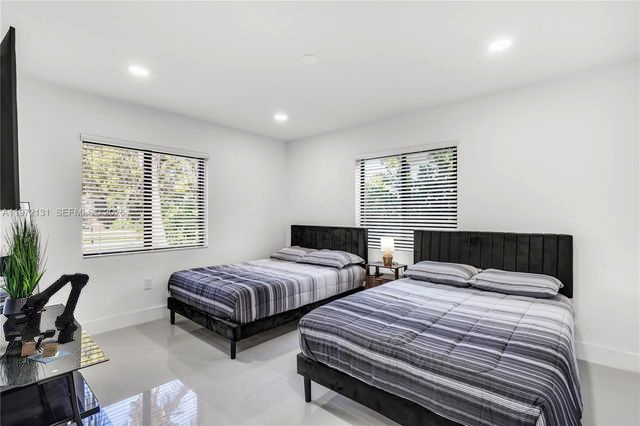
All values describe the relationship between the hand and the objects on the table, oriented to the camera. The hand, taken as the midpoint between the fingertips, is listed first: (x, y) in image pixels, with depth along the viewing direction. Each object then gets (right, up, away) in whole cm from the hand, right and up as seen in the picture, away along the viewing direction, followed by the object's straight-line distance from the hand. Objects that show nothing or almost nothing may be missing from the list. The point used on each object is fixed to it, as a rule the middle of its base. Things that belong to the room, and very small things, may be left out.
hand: (29, 351), depth 162 cm
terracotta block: (0, -1, 0) cm, 1 cm away
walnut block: (+11, -1, -1) cm, 12 cm away
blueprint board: (+11, -2, -1) cm, 12 cm away
